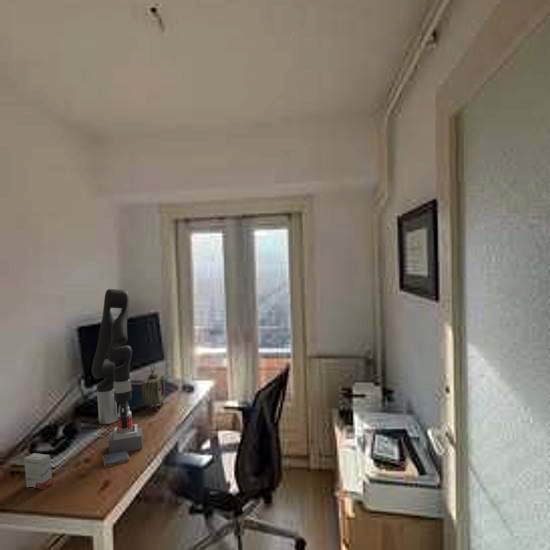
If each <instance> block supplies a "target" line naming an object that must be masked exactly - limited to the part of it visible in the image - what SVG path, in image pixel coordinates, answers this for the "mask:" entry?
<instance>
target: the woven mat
mask: <svg viewBox="0 0 550 550" xmlns="http://www.w3.org/2000/svg"><path fill="white" fill-rule="evenodd" d="M102 455H103V456H102V457H101V459H102V461H103V465H104V467H105V468H110V467H114V466H118V465H121V463H122V464H126V463H129V462H130V461H131V460H130V456H129V454H128V451H125V450H124V451H123V450H122V451H121V452H120V451H119V452H117V453H116V452H115V453H113V454H112V453H111V454H110V453H107V454H102ZM125 462H126V463H125Z"/></svg>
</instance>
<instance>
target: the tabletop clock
mask: <svg viewBox="0 0 550 550" xmlns="http://www.w3.org/2000/svg"><path fill="white" fill-rule="evenodd" d="M155 366H156V365H155V364H152V365H151V366H150V373H149V374H148V376H147V377H146V378H145V379H144V380H143V381H142V382H141V392H142V393H141V394H142V396H141V397H142V403H143V404H144V405H146V406H148V405H150V406H149V408H150V409H153V407H155V412H158V411H159V408H158V407H157V405H164V400H165V398H166V384H165V383H166V382H165V376H164V375H158V373H156V372H155V370H156V367H155ZM153 405H154V406H153Z"/></svg>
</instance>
